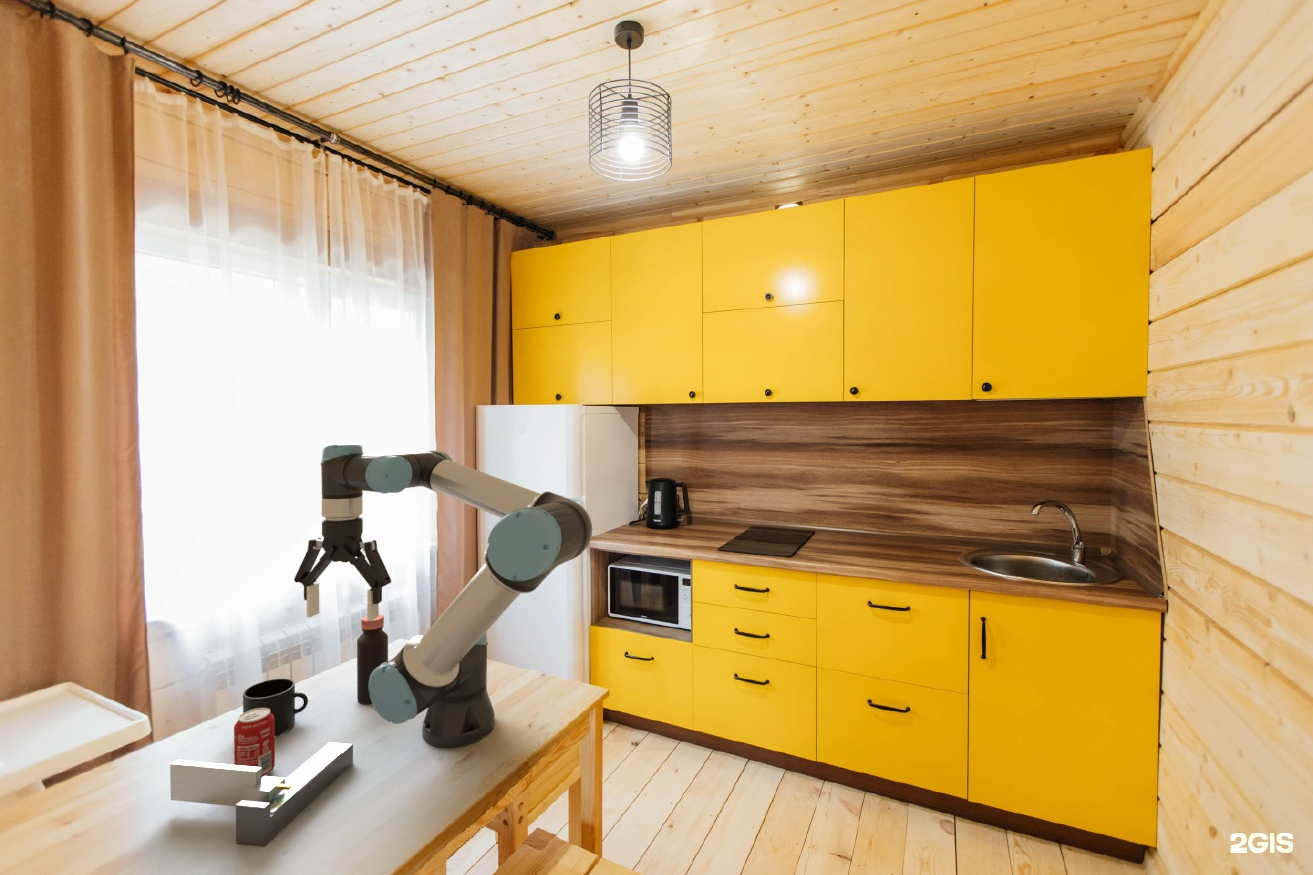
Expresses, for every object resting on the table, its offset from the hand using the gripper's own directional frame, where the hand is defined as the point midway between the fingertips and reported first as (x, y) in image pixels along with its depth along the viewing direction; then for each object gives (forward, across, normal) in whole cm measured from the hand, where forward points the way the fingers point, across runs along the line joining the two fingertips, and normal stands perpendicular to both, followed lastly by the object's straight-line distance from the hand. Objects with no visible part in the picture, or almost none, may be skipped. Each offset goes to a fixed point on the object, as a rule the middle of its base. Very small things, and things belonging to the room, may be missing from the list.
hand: (342, 617), depth 119 cm
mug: (+27, +18, -3) cm, 33 cm away
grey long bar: (+27, -4, +18) cm, 33 cm away
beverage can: (+27, +9, +13) cm, 31 cm away
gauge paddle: (+24, +4, +24) cm, 34 cm away
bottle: (+27, +5, -18) cm, 33 cm away
